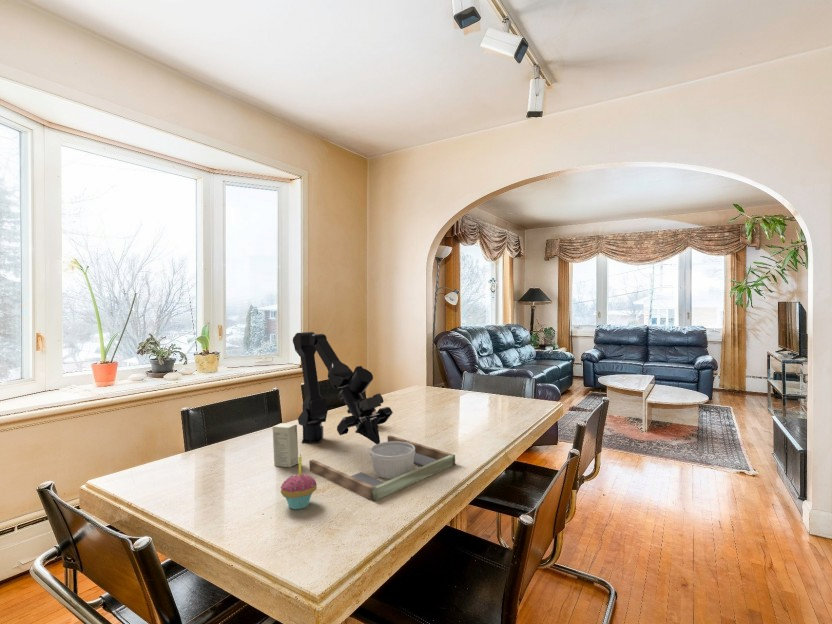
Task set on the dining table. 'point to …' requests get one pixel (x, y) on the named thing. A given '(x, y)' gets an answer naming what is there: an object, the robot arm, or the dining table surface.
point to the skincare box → (285, 445)
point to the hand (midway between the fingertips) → (378, 443)
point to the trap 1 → (367, 479)
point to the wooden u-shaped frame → (390, 486)
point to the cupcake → (298, 489)
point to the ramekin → (392, 458)
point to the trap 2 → (422, 460)
